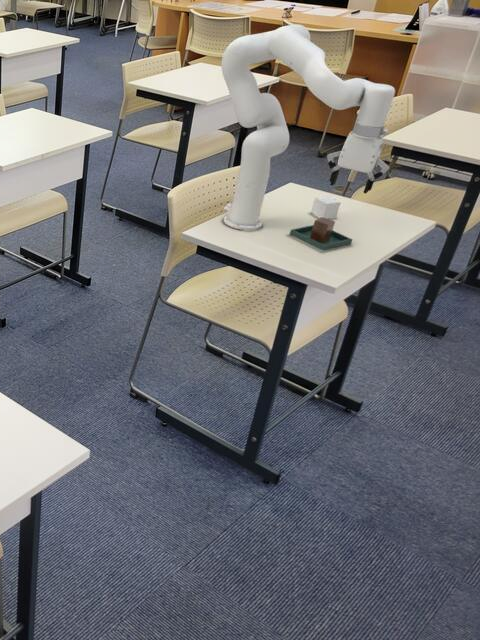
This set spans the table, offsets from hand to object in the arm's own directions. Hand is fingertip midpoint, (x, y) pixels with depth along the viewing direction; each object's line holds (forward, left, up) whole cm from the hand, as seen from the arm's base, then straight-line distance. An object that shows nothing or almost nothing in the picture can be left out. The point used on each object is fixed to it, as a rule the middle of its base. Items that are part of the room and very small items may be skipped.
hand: (349, 188), depth 208 cm
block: (-8, +5, -21) cm, 23 cm away
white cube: (-23, +23, -21) cm, 39 cm away
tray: (-8, +5, -21) cm, 23 cm away
